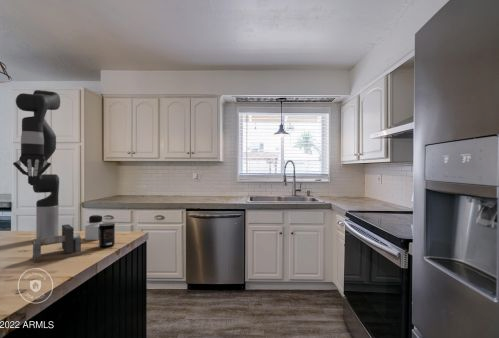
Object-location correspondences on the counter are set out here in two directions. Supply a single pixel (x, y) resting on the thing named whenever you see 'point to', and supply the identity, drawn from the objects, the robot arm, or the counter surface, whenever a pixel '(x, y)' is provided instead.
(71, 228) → the collar
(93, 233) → the medicine bottle
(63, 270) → the counter surface
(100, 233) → the supplement container
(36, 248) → the pipe stand
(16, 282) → the counter surface
